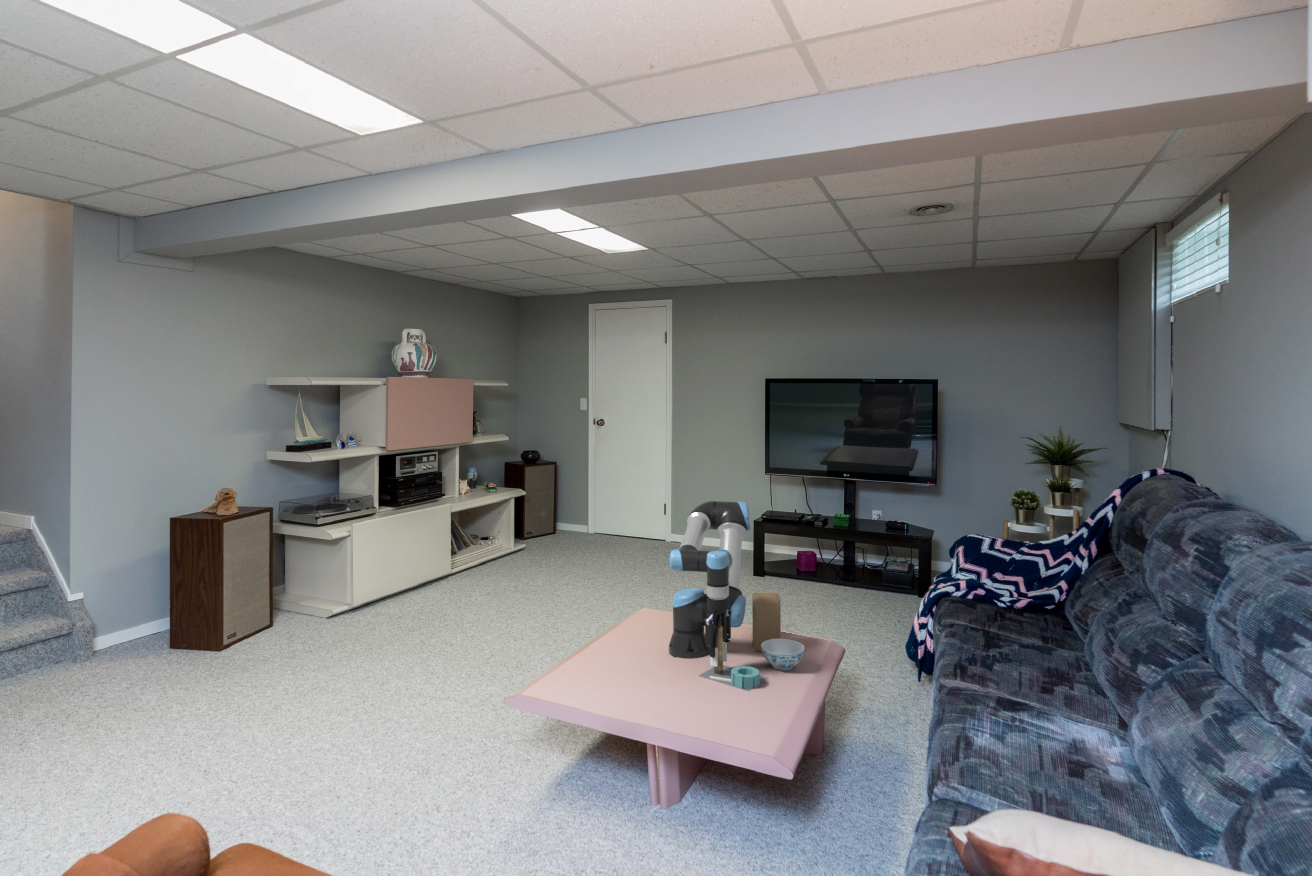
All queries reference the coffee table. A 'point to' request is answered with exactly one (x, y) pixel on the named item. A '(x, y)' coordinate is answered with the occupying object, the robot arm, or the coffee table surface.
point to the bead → (745, 677)
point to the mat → (725, 676)
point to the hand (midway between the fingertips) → (718, 662)
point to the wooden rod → (719, 651)
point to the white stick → (720, 678)
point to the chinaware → (782, 653)
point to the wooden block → (765, 618)
